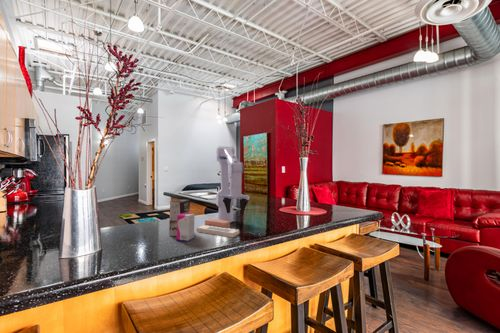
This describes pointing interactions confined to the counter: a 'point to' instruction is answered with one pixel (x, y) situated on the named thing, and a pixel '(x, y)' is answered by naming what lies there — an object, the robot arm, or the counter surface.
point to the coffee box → (177, 213)
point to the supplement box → (185, 227)
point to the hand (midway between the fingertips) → (235, 213)
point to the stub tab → (218, 223)
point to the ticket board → (218, 230)
